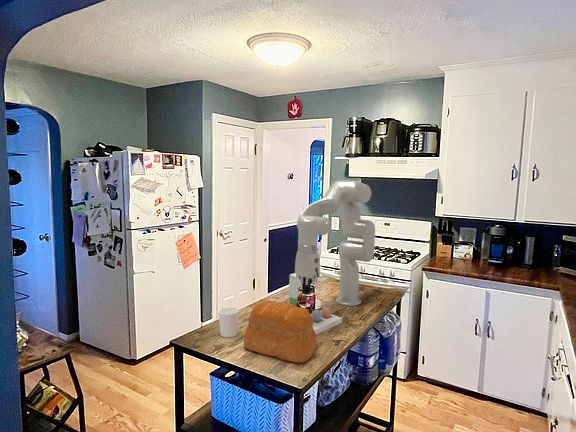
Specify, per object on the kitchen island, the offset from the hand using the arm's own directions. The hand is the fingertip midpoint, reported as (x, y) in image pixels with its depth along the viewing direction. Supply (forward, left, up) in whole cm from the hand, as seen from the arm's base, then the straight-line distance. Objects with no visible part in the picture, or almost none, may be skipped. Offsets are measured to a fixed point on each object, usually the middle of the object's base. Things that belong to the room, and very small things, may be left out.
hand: (306, 293), depth 157 cm
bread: (+17, +3, -17) cm, 24 cm away
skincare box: (-22, -24, -17) cm, 37 cm away
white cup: (+23, -21, -17) cm, 36 cm away
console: (-7, 0, -17) cm, 18 cm away
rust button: (-13, 0, -14) cm, 19 cm away
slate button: (-7, 0, -14) cm, 15 cm away
